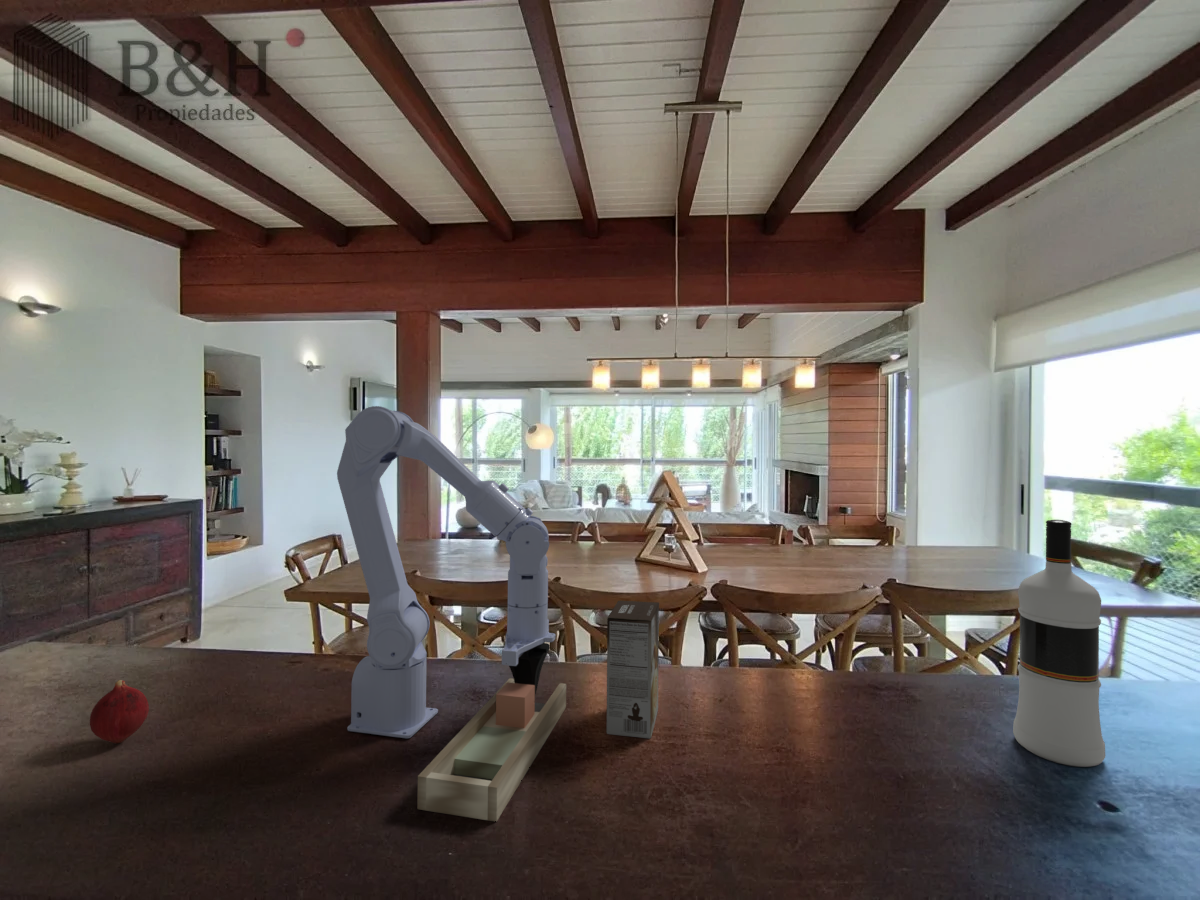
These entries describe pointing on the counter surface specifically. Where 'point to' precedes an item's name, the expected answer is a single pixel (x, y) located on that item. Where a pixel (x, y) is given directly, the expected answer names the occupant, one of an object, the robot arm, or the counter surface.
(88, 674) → the counter surface
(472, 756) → the trap lane
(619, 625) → the coffee box
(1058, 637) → the vodka
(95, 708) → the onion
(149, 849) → the counter surface
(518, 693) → the block
